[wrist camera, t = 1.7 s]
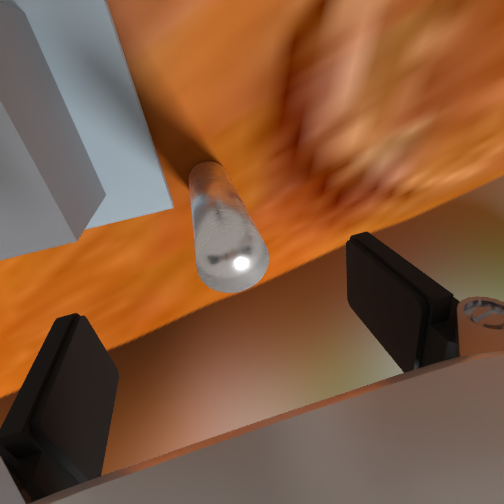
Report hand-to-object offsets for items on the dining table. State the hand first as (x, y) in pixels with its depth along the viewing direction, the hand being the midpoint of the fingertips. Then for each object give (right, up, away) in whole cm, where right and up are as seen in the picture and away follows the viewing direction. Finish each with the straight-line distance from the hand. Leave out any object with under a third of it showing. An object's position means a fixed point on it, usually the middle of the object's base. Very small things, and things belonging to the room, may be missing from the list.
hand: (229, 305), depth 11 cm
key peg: (-2, +7, +12) cm, 14 cm away
